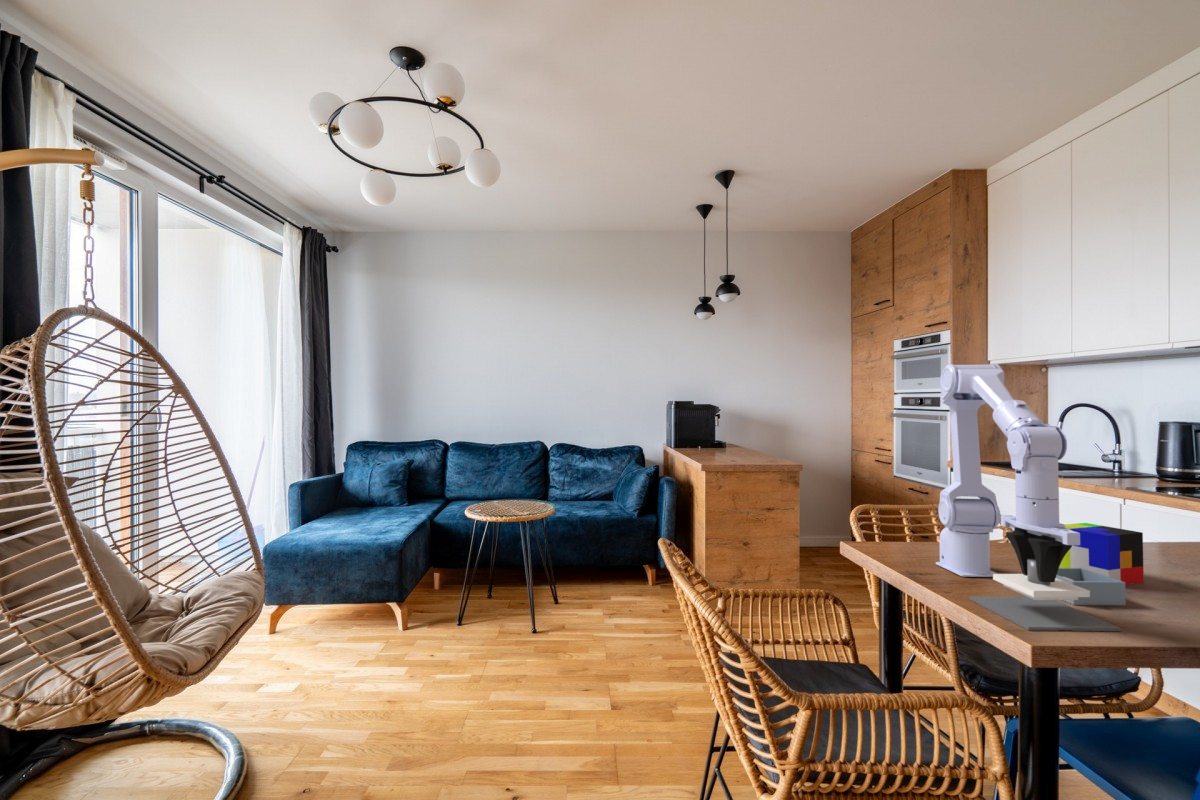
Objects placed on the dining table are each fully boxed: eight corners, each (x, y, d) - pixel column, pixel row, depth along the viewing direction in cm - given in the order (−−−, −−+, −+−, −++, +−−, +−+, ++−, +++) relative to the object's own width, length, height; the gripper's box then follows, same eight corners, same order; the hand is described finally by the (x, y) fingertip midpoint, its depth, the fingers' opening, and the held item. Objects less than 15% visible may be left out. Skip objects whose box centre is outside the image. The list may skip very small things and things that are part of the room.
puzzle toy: (1108, 587, 106) (1107, 535, 106) (1053, 572, 115) (1052, 525, 115) (1143, 582, 108) (1142, 532, 109) (1086, 569, 118) (1085, 522, 118)
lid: (993, 584, 96) (992, 554, 96) (1043, 583, 96) (1043, 553, 96) (1033, 602, 87) (1033, 568, 87) (1089, 602, 87) (1089, 568, 87)
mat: (969, 599, 99) (969, 596, 99) (1047, 599, 98) (1047, 597, 98) (1028, 630, 85) (1028, 627, 85) (1120, 631, 84) (1120, 627, 84)
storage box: (1033, 588, 105) (1033, 567, 105) (1081, 588, 105) (1081, 567, 105) (1073, 604, 96) (1073, 582, 96) (1125, 605, 96) (1125, 582, 96)
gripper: (1099, 504, 85) (1101, 592, 84) (1028, 491, 99) (1029, 566, 99) (1053, 504, 85) (1054, 592, 84) (988, 491, 99) (989, 565, 99)
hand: (1038, 578), depth 92 cm, fingers closed on lid, 3 cm apart
